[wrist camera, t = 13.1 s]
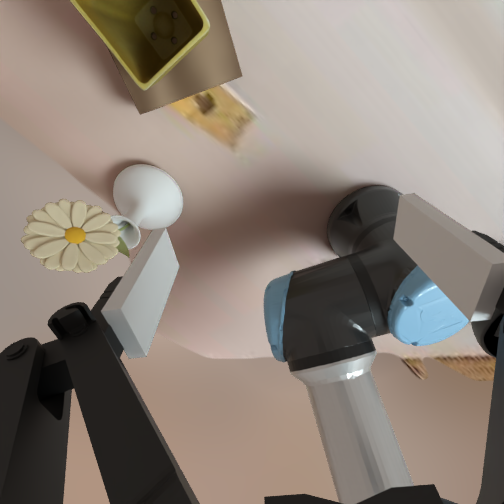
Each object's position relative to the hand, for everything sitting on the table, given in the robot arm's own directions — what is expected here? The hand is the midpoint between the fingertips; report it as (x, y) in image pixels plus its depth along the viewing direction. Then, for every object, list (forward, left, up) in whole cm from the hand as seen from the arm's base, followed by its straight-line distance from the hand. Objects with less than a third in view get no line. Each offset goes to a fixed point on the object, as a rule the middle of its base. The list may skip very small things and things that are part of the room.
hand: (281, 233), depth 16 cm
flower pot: (+9, -14, -26) cm, 31 cm away
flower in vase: (+20, +6, -32) cm, 38 cm away
